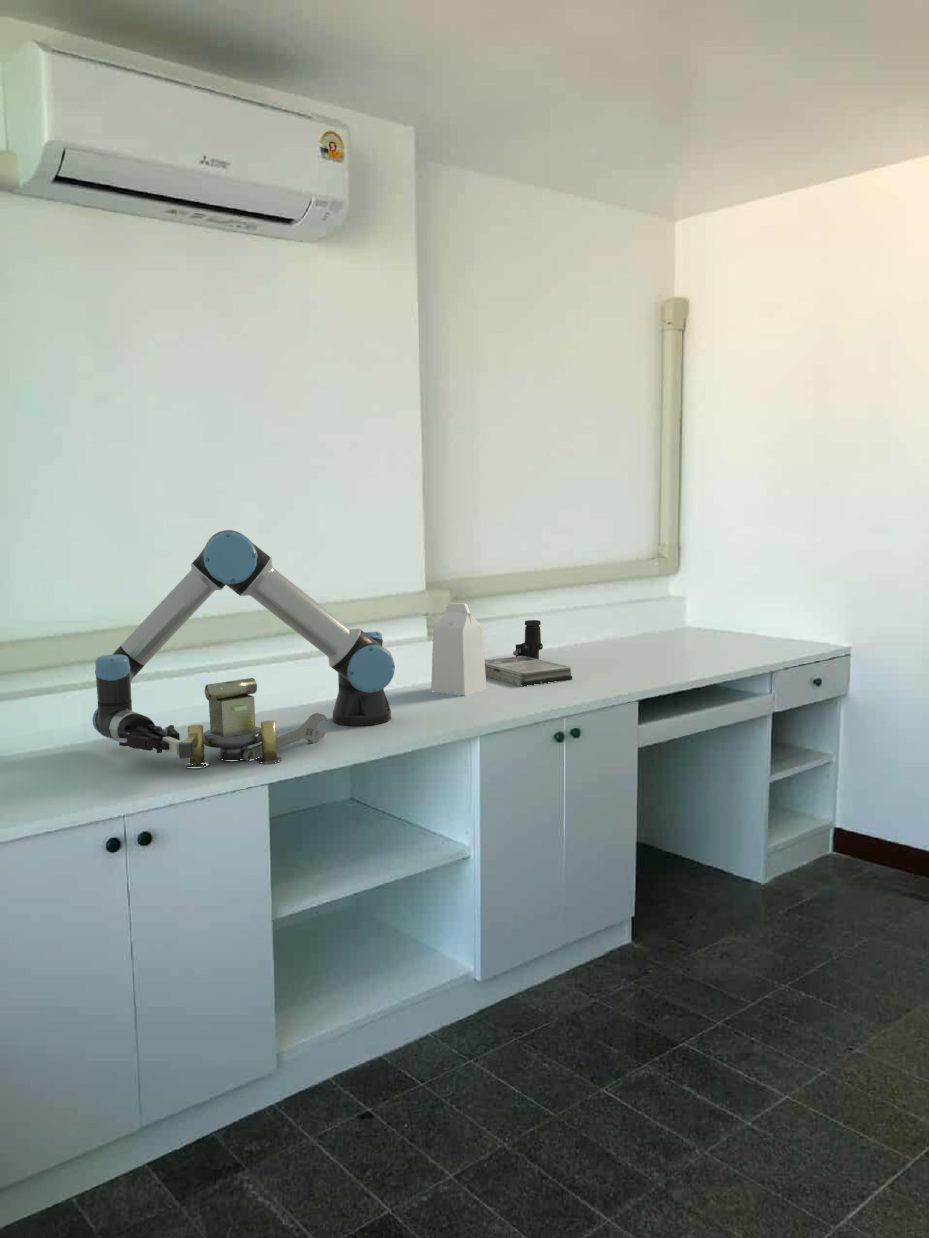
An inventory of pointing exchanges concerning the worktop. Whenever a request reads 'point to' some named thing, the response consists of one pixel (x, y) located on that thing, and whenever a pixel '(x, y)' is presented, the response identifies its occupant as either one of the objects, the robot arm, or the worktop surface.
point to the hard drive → (526, 670)
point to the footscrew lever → (193, 745)
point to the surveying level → (237, 722)
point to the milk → (458, 653)
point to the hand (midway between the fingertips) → (179, 748)
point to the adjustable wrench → (293, 736)
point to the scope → (530, 640)
